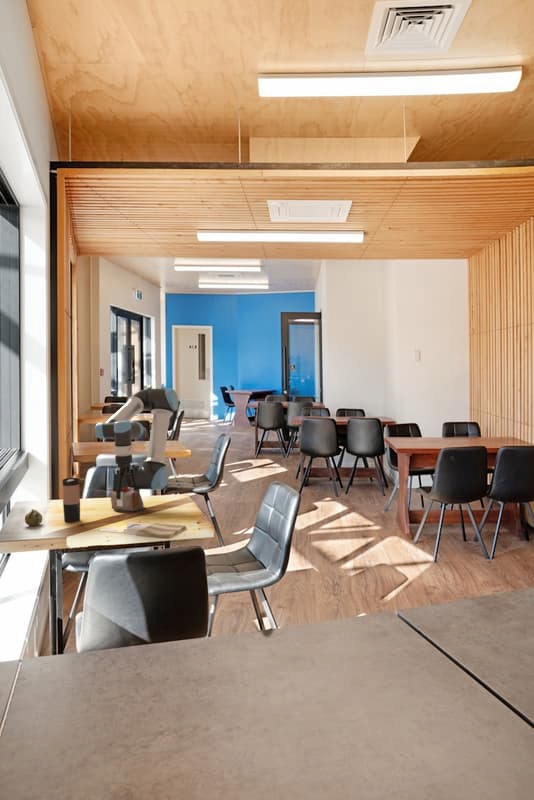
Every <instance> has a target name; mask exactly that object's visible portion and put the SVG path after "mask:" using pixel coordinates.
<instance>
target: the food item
mask: <svg viewBox="0 0 534 800" xmlns="http://www.w3.org/2000/svg"><path fill="white" fill-rule="evenodd" d="M121 492H123V506H117V498H116V492H114V491H113V490H112V491H110V493H109V495H110V503H111V510H112V509H113V510H114V509H122V510H131V511H133V512H136V511H135V510H137V509H140V495H141V493H140V492H141V491H140V492H138V491H130V489H128V487H127V488H125V487H124V488H122V490H121Z"/></svg>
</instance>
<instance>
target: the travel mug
mask: <svg viewBox="0 0 534 800" xmlns="http://www.w3.org/2000/svg"><path fill="white" fill-rule="evenodd" d="M80 492H81V491H80V479H79V478H78V477H69V478H68V477H66V478H63V479H62V505H63V519H64V523H69V524H70V523H77V522H79V521H81V496H80V495H81V493H80Z"/></svg>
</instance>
